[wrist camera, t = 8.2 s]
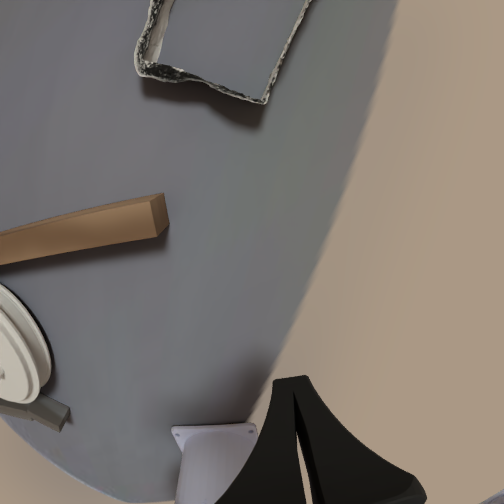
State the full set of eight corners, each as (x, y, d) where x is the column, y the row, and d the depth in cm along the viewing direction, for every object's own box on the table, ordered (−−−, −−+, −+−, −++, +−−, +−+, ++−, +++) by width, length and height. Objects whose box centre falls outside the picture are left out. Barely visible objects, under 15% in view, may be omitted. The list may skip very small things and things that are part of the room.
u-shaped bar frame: (220, 418, 25) (219, 443, 22) (6, 402, 26) (-4, 417, 23) (163, 192, 19) (149, 201, 16) (-63, 253, 20) (-81, 262, 17)
